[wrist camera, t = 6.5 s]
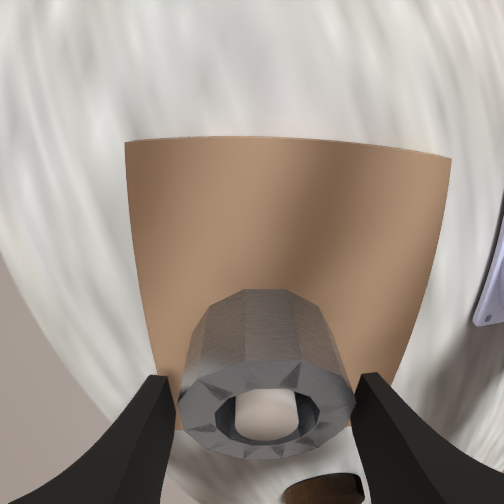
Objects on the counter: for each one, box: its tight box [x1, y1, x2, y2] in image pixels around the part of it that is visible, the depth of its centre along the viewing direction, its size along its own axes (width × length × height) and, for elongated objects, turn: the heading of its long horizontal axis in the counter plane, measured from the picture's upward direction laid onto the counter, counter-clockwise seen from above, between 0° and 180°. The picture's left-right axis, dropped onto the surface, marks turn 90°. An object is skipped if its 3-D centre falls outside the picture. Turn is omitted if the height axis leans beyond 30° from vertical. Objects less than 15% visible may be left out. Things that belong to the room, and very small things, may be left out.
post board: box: [125, 136, 452, 441], centre depth 10 cm, size 11×14×5 cm
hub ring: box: [177, 289, 356, 459], centre depth 10 cm, size 5×5×4 cm
